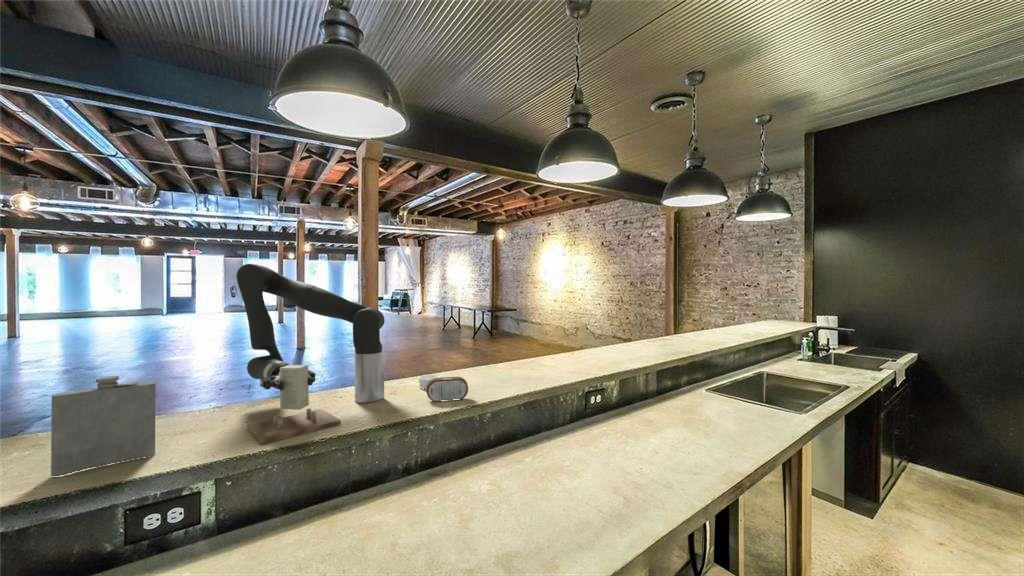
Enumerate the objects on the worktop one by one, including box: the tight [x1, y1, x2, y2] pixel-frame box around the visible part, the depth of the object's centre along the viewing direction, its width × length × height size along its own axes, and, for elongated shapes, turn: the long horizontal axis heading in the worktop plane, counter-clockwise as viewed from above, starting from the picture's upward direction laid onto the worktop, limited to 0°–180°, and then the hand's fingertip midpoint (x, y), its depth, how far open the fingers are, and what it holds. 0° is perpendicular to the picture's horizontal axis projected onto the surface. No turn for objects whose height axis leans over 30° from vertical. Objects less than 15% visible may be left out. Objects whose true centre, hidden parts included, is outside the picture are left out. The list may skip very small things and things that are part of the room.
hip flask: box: [50, 375, 157, 477], centre depth 84 cm, size 16×4×20 cm, turn 133°
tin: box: [425, 376, 469, 402], centre depth 132 cm, size 15×3×8 cm, turn 106°
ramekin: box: [418, 374, 441, 388], centre depth 150 cm, size 9×9×4 cm
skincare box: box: [279, 364, 310, 411], centre depth 107 cm, size 6×4×12 cm
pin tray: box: [247, 408, 342, 446], centre depth 107 cm, size 20×15×4 cm
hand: (297, 384), depth 105 cm, fingers closed on skincare box, 7 cm apart
